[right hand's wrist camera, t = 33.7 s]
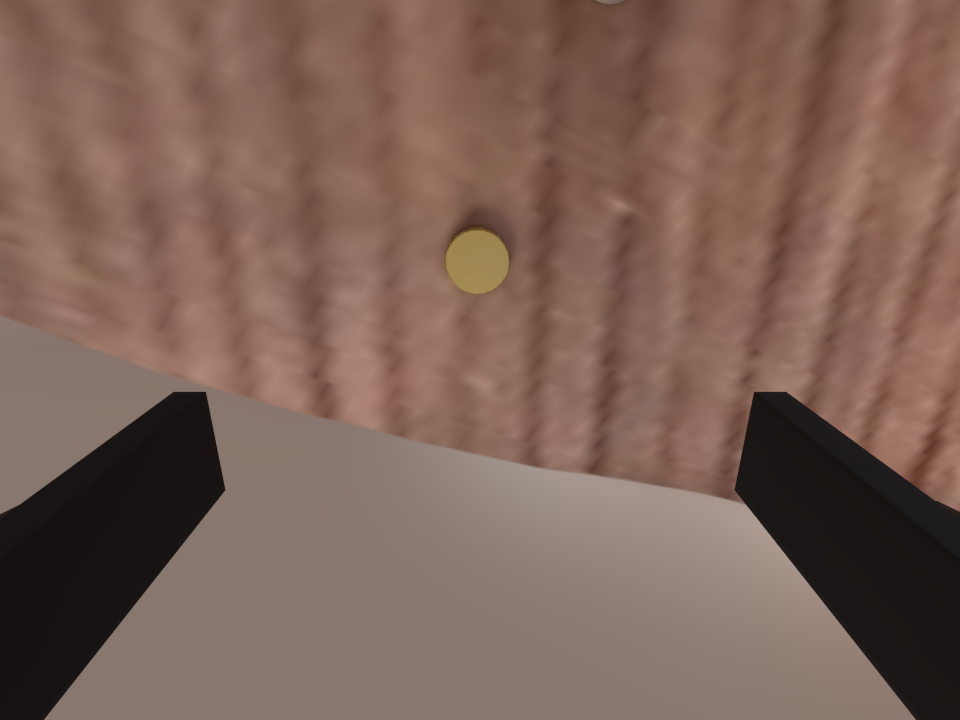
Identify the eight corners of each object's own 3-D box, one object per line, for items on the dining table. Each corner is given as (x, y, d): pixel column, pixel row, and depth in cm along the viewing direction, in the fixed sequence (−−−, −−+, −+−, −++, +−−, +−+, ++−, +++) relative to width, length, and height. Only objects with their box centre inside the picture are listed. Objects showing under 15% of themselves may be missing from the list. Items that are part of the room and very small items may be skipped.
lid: (436, 275, 39) (434, 279, 37) (460, 215, 37) (459, 217, 36) (493, 299, 40) (493, 305, 38) (519, 241, 38) (520, 245, 36)
